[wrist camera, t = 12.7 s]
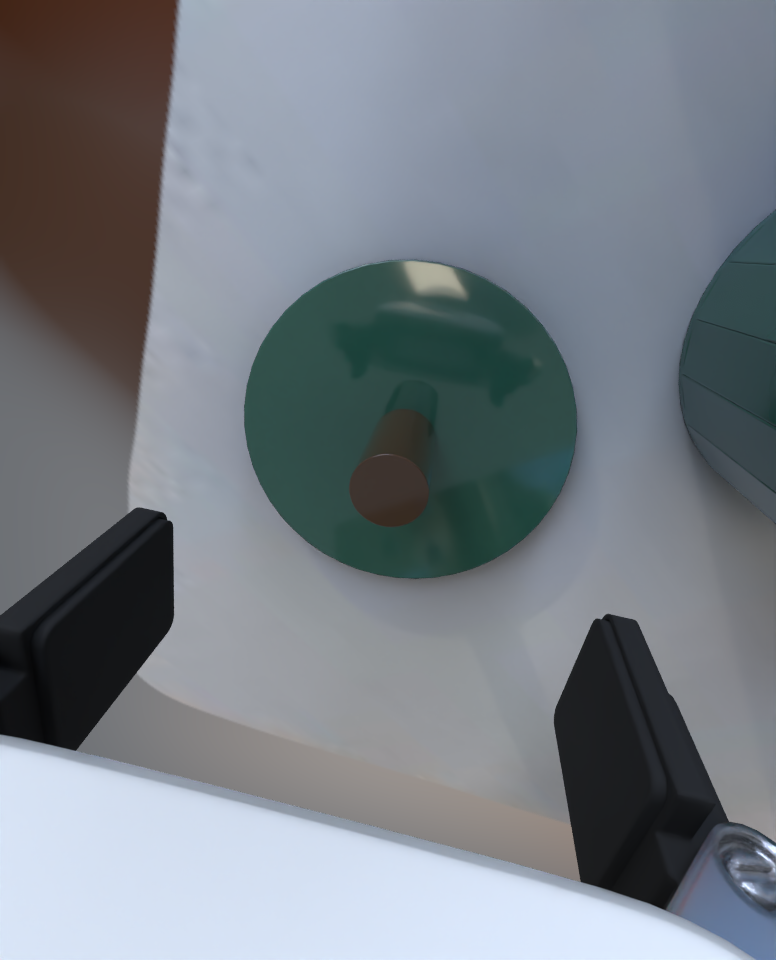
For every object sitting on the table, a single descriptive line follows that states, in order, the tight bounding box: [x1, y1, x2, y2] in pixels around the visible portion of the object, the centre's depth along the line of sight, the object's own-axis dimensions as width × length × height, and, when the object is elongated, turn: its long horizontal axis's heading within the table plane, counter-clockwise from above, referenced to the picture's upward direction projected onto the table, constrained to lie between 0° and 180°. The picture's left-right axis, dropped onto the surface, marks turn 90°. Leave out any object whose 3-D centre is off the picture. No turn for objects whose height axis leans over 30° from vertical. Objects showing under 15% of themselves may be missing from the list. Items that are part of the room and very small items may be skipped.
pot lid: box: [244, 259, 577, 579], centre depth 21 cm, size 15×15×7 cm
